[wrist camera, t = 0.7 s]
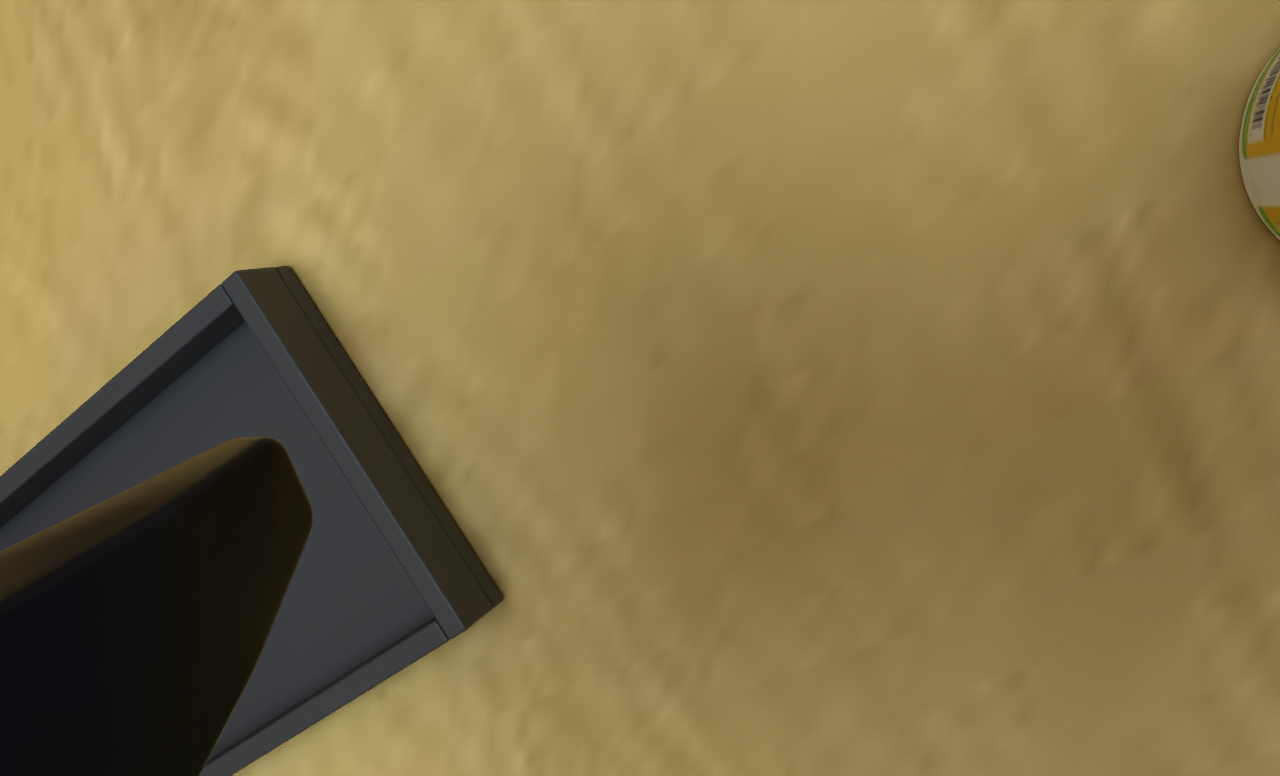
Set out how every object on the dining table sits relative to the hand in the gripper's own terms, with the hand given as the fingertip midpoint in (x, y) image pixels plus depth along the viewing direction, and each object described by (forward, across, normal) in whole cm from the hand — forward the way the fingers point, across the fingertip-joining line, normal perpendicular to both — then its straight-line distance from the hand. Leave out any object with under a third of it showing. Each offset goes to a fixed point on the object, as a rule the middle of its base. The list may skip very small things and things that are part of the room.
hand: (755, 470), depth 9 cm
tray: (+10, +24, +14) cm, 30 cm away
